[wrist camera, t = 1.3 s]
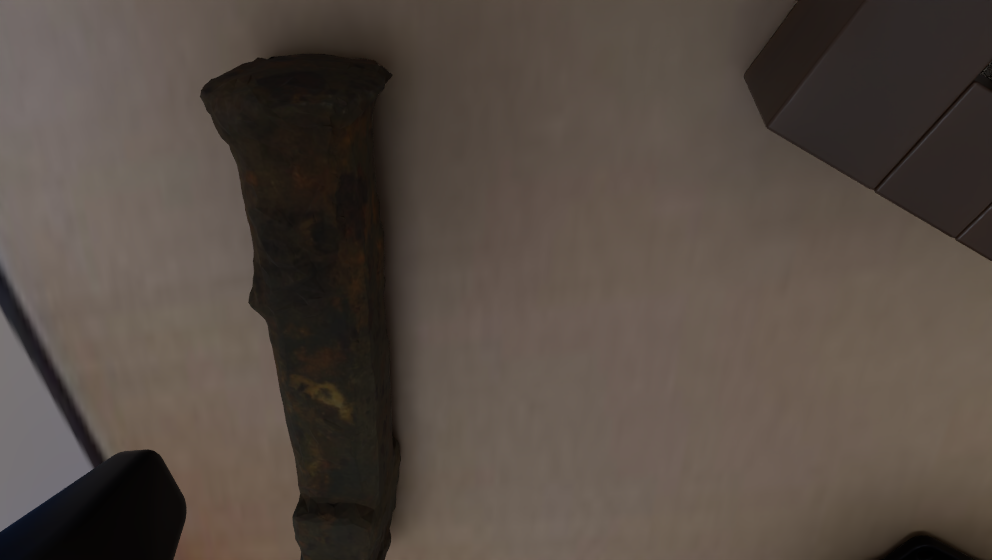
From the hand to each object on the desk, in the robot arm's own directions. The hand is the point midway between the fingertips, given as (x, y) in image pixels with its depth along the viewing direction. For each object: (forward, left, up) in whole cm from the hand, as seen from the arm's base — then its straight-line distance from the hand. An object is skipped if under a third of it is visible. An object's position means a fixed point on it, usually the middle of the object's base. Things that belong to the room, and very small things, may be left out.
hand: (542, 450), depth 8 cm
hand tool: (+1, +11, -14) cm, 18 cm away
